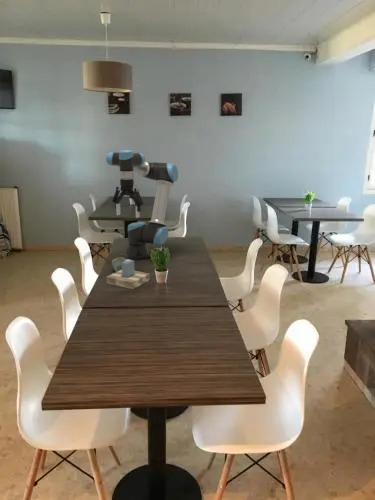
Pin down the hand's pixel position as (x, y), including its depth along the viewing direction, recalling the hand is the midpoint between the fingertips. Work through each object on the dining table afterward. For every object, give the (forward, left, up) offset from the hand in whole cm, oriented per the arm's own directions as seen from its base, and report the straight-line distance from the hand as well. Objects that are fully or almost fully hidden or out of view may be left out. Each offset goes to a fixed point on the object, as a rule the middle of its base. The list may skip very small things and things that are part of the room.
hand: (128, 216), depth 239 cm
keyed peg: (+12, +8, -35) cm, 38 cm away
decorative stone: (-1, -8, -35) cm, 36 cm away
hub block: (+12, +8, -35) cm, 38 cm away
